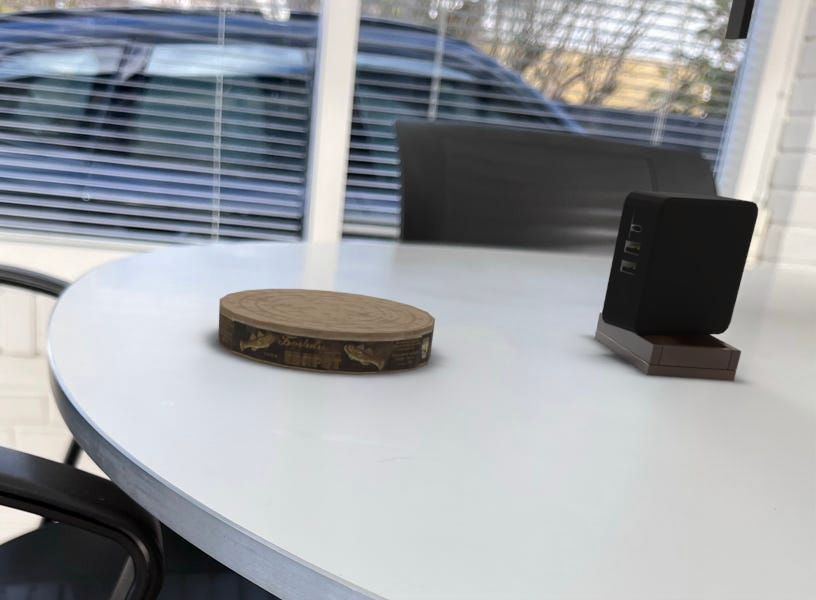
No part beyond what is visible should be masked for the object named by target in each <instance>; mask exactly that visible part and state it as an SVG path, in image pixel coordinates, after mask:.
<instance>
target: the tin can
mask: <svg viewBox="0 0 816 600" xmlns="http://www.w3.org/2000/svg"><path fill="white" fill-rule="evenodd" d="M218 309H219V310H218V333H217V334H218V336H217V337H218V343H219V346H220V347H221V348H223V349H225V350H226V351H228V352H229V353H230V354H233V355H236V356H238V357H240V358H244V359H247V360H250V361H253V362H255V363H256V362H257V363H261V364H265V365H270V366H274V367H275V366H276V367H279V368H284V369H290V370H298V371H306V372H313V373H319V374H320V373H322V374H338V375H357V376H359V375H387V374H388V375H389V374H397V373H401V372H409V371H414V370H416V369H418V368H421V367H424V366H427V365H428V364H429V361H430V359H431V356H432V355H431V354H432V346H433V340H434V339H433V338H434V330H435V323H436V318H435V317H434V316H433V315H432V314H430V313H429V311H426V310H423V309H421V308H419V307H416V306H413V305H411V304H408V303H403V302H399V301H396V300H392V299H386V298H381V297H376V296H370V295H365V294H358V293H350V292H342V291H333V290H323V289H322V290H321V289H307V288H260V289H245V290H241V291H236V292H232V293H231V292H230V293H227V294H225V296H222V297H221V298H219V308H218Z"/></svg>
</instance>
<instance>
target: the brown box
mask: <svg viewBox="0 0 816 600" xmlns="http://www.w3.org/2000/svg"><path fill="white" fill-rule="evenodd" d="M602 311H603V310H602ZM602 311H601V310H600V311H599V314H598V319H597V324H596V329H595V334H594V339H595V340H596V341H597V342H598V343H600V344H602V346H605V347H606V348H607V349H609V350H610V351H612V352H613V353H615V354H616V355H618V356H619V357H620V358H622V359H623V360H625V361H626V362H627V363H629V364H631V365H632V366H633V367H634V368H636V369H638V370H639V371H640V372H642V373H643V374H645V376H653V377H666V378H667V377H668V378H684V379H699V380H711V381H713V380H714V381H725V382H726V381H730V382H734V381H735V378H736V374H737V369H738V365H739V361H740V358H741V354H742V350H740V349H738V348H737V347H735V346H732V345H731V344H730V343H727V342H725V341H723V340H721V339H719V338H717V337H716V336H714V335H713V334H705V335H639V334H636V333H633V332H630V331H627V330H624V329H621V328H618V327H615V326H613V325H610V324H607V323H605V322H604V321H603V319H602Z"/></svg>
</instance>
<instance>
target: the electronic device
mask: <svg viewBox="0 0 816 600" xmlns="http://www.w3.org/2000/svg"><path fill="white" fill-rule="evenodd" d="M620 215H621V216H620V220H619V224H618V225H619V226H618V229H617V230H618V231H617V236H616V241H615V244H614V245H615V246H614V251H613V256H612V261H611V265H610V270H609V276H608V281H607V286H606V291H605V296H604V301H603V306H602V319H603V321H604V322H605V323H607V324H610V325H613V326H615V327H618V328H621V329H624V330H627V331H630V332H633V333H636V334H639V335H705V334H710V335H721V334H724V333H725V332H726V331H727V330H728V329H729V327H730V325H731V322H732V318H733V315H734V310H735V307H736V303H737V300H738V299H737V298H738V295H739V291H740V287H741V282H742V279H743V275H744V272H745V268H746V263H747V259H748V255H749V251H750V248H751V244H752V239H753V235H754V233H755V228H756V224H757V221H758V216H759V207H758V205H757V203H756V202H754V201H751V200H745V199H741V198H733V197H728V196H722V195H716V194H700V193H685V192H684V193H683V192H669V191H651V190H633V191H630V193H628V194H627V195H626V197H625V199H624V202H623V205H622V211H621V214H620Z"/></svg>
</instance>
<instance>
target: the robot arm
mask: <svg viewBox="0 0 816 600" xmlns="http://www.w3.org/2000/svg"><path fill="white" fill-rule="evenodd" d="M755 2H756V0H732V2H731V7H730V11H729V17H728V21H727V27H726V31H725V36H724V39H725V40H729V41H730V40H732V41H733V40H734V41H735V40H747V39H748V33H749V29H750V24H751V20H752V15H753V10H754V6H755Z"/></svg>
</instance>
